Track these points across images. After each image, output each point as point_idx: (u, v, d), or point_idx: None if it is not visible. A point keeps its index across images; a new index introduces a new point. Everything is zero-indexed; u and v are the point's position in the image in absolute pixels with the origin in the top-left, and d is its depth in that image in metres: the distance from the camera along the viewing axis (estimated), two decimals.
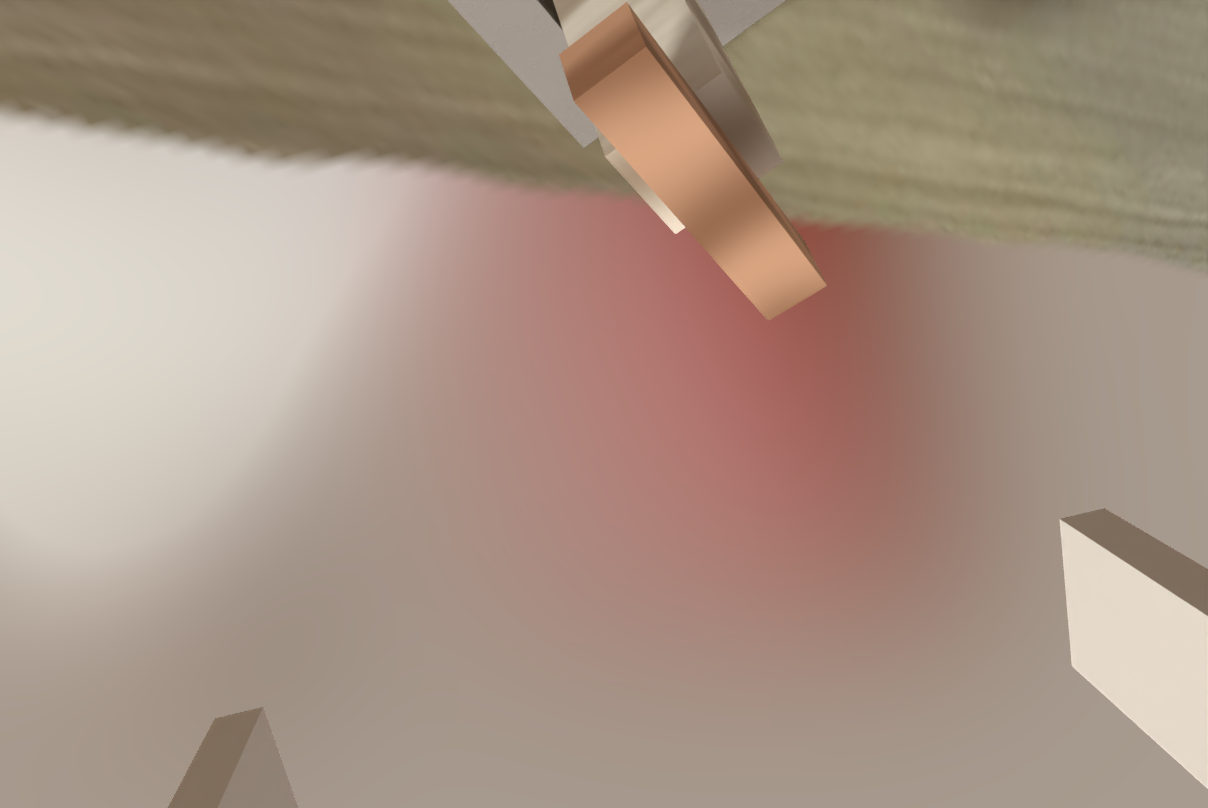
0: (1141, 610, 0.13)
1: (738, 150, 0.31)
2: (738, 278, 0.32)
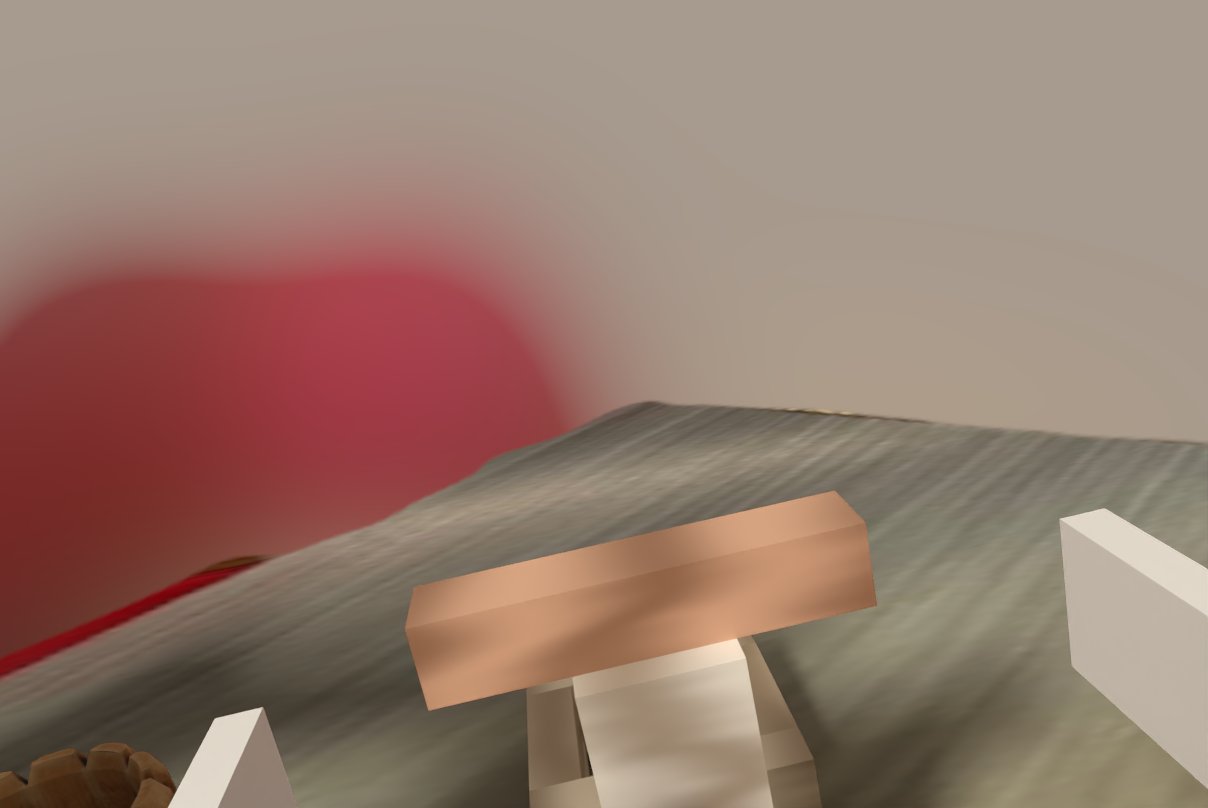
0: (1141, 610, 0.13)
1: None
2: (761, 542, 0.24)
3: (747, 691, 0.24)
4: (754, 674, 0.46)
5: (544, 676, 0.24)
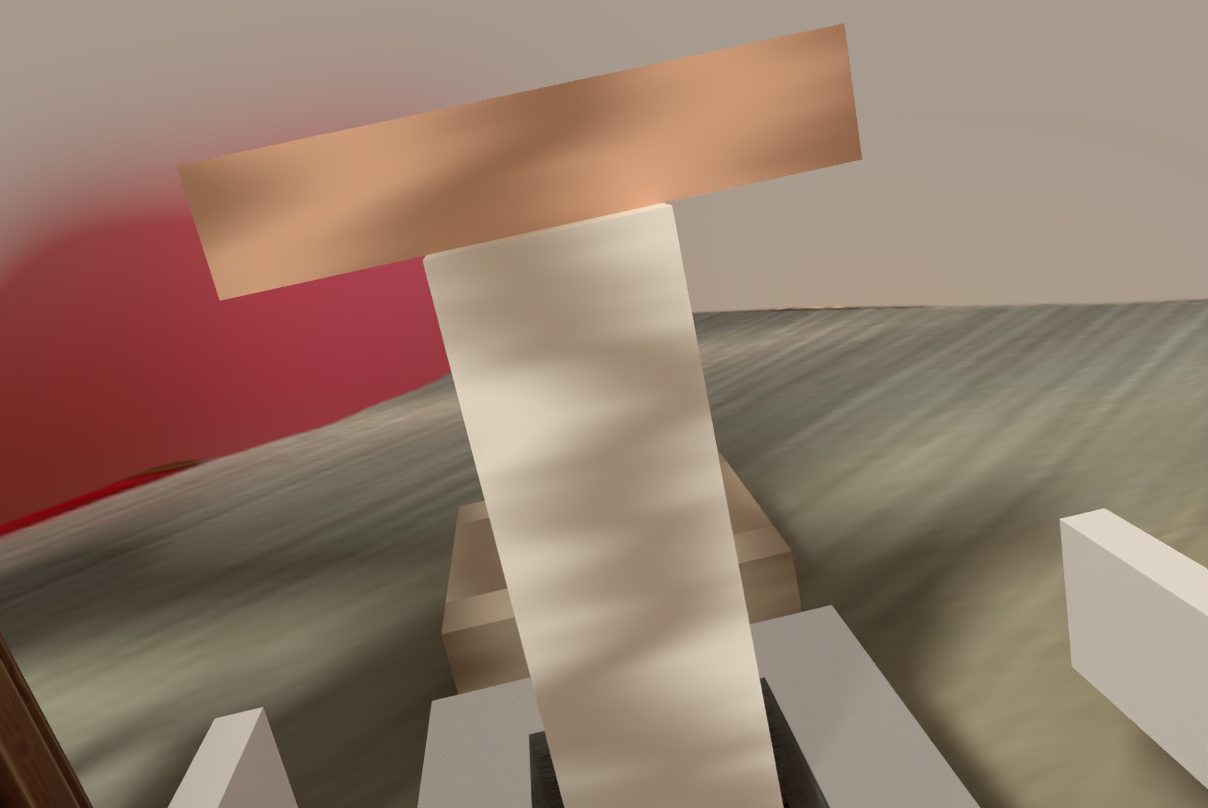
0: (1141, 611, 0.13)
1: None
2: (695, 55, 0.17)
3: (675, 259, 0.17)
4: (724, 487, 0.38)
5: (387, 251, 0.17)
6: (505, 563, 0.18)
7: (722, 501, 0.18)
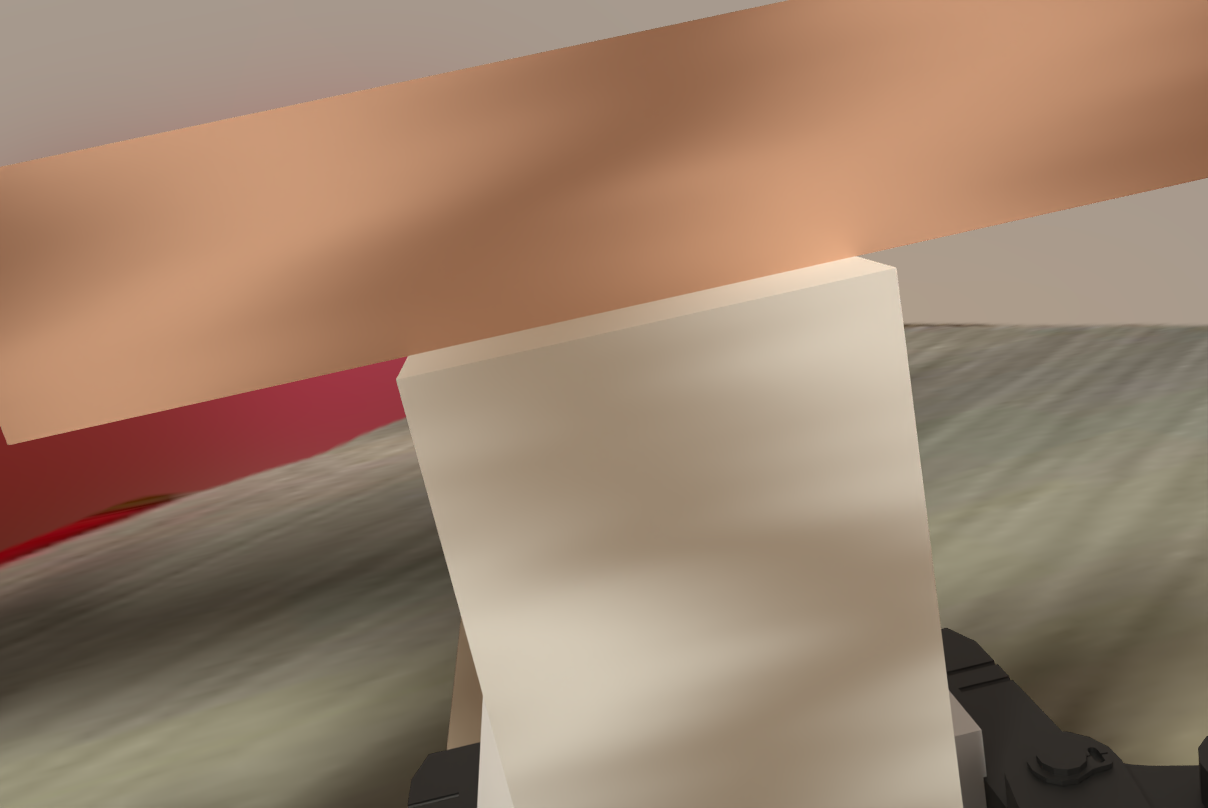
0: None
1: None
2: None
3: (896, 373, 0.08)
4: None
5: (330, 350, 0.09)
6: None
7: (954, 805, 0.10)
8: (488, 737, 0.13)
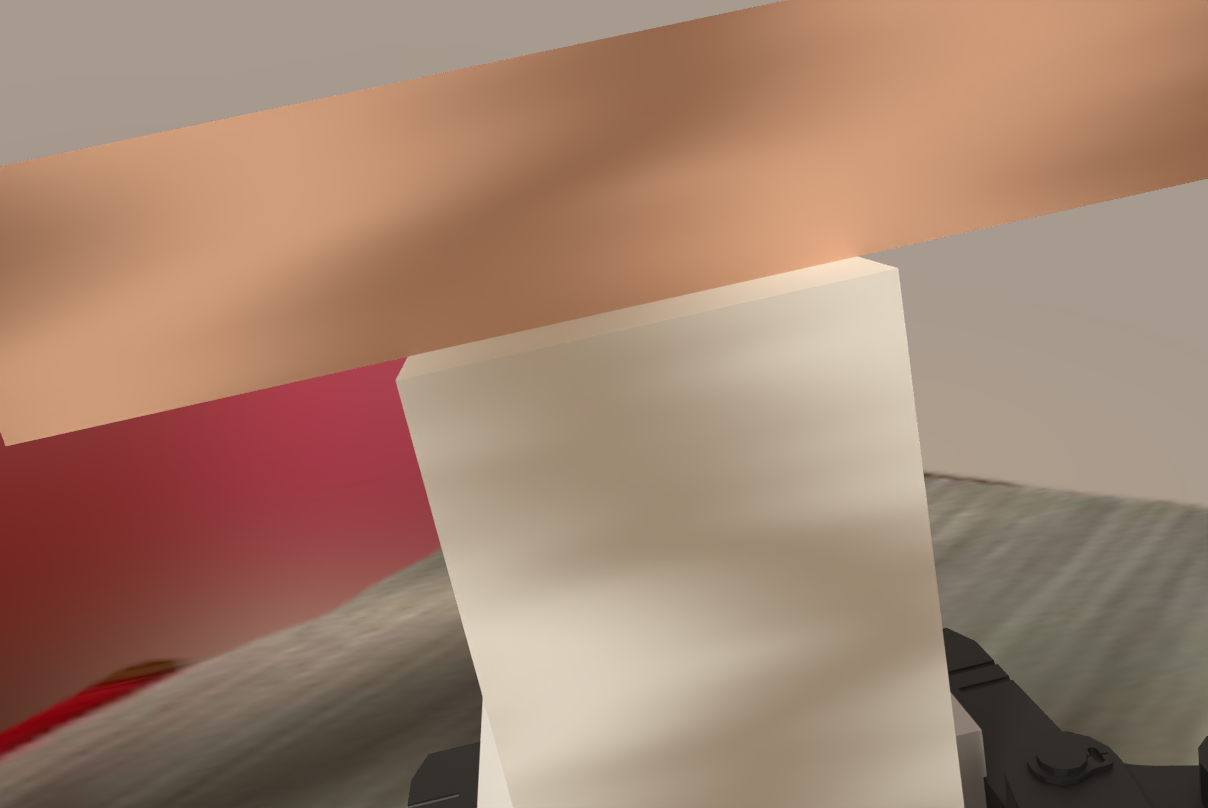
0: None
1: None
2: None
3: (898, 374, 0.08)
4: None
5: (329, 351, 0.09)
6: None
7: None
8: (488, 737, 0.13)
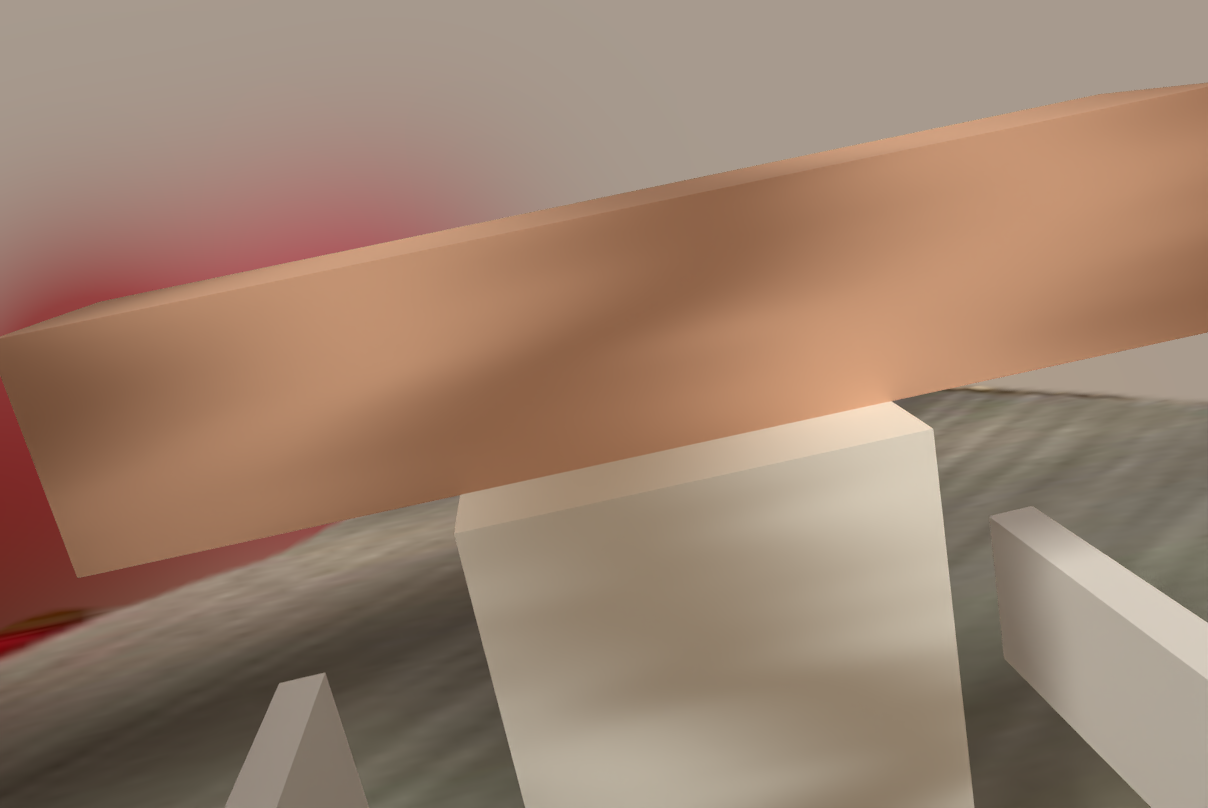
0: (1058, 603, 0.14)
1: None
2: (964, 135, 0.09)
3: (932, 526, 0.09)
4: None
5: (385, 489, 0.09)
6: None
7: None
8: None
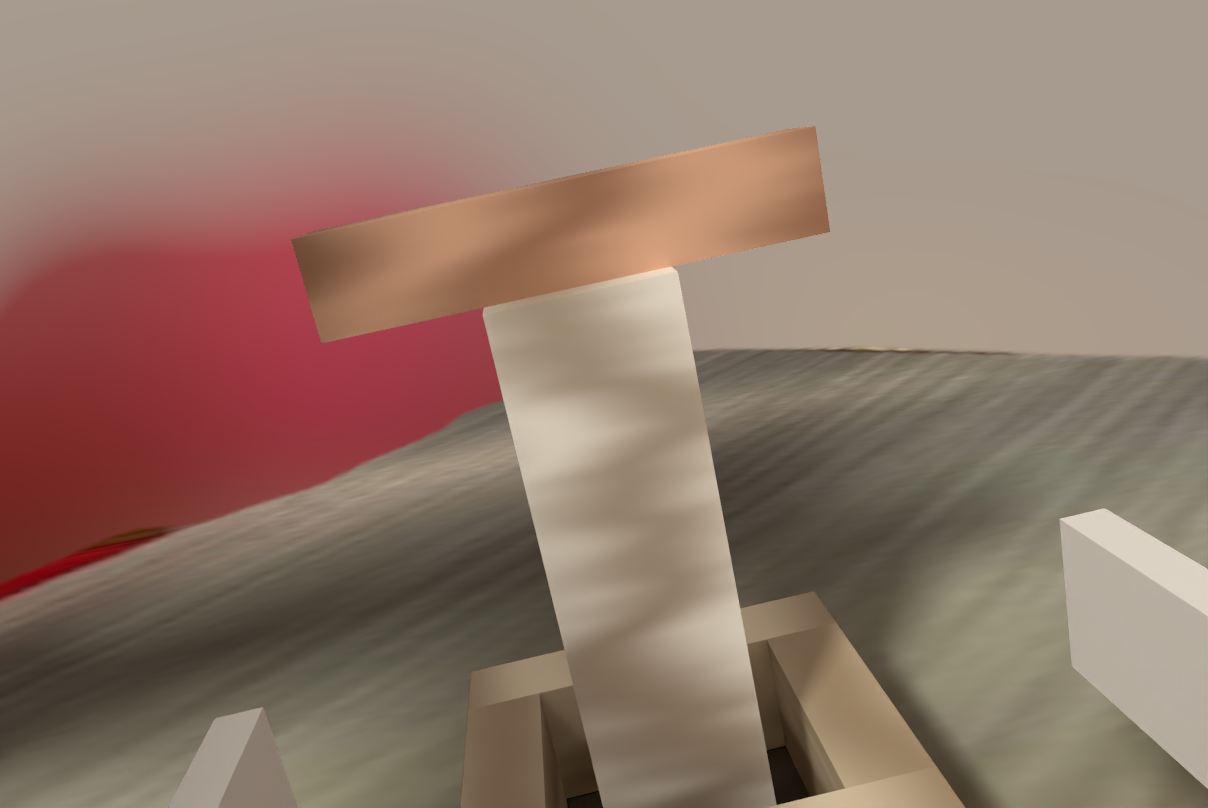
0: (1141, 610, 0.13)
1: None
2: (697, 151, 0.21)
3: (680, 313, 0.21)
4: (842, 673, 0.28)
5: (452, 304, 0.22)
6: (543, 551, 0.22)
7: (717, 503, 0.22)
8: None
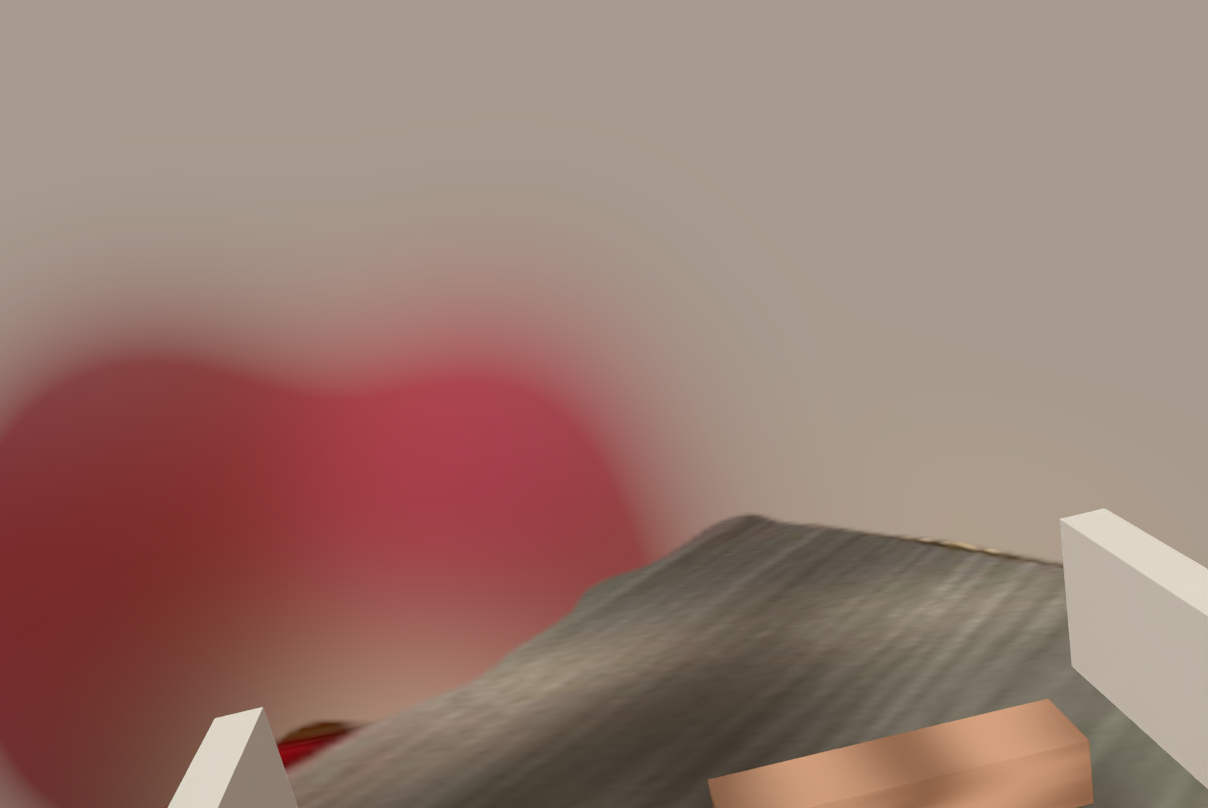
0: (1141, 610, 0.13)
1: None
2: (1004, 755, 0.30)
3: None
4: None
5: None
6: None
7: None
8: None
